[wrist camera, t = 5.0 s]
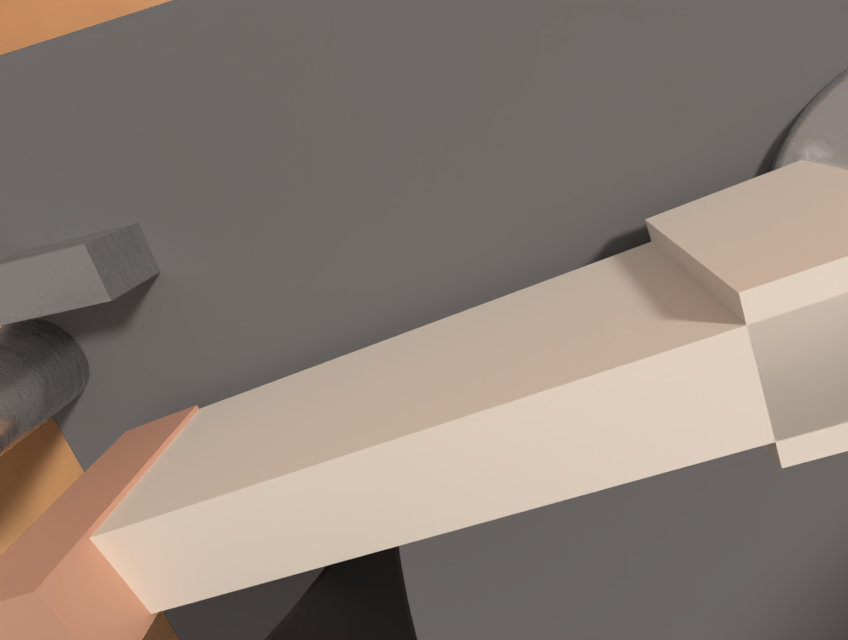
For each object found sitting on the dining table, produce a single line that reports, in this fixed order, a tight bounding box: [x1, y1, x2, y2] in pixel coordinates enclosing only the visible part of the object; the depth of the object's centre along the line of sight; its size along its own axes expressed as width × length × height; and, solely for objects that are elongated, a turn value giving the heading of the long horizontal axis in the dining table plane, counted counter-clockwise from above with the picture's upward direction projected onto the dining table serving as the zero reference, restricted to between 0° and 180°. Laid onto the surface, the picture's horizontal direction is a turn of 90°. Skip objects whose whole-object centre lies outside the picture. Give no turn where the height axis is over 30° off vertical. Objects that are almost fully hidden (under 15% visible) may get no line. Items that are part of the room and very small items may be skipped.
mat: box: [0, 0, 848, 640], centre depth 12 cm, size 19×21×1 cm
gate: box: [0, 160, 848, 640], centre depth 8 cm, size 13×2×4 cm, turn 114°
